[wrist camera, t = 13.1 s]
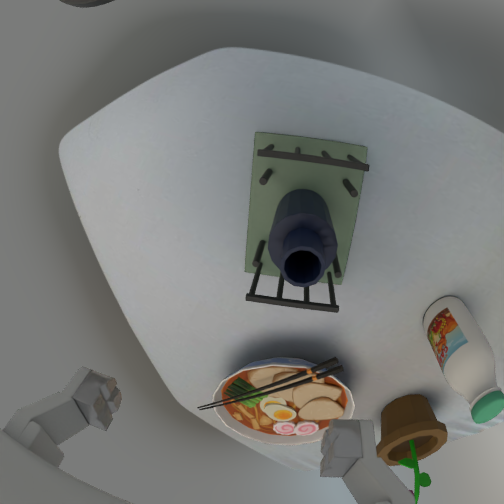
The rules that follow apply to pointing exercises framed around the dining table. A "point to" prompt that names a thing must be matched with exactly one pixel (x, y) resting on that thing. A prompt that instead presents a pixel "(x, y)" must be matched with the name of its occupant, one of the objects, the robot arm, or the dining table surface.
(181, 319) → the dining table surface
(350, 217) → the rack
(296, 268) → the bottle
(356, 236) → the dining table surface
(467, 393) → the milk bottle
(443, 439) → the flowerpot
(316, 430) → the ramen bowl
